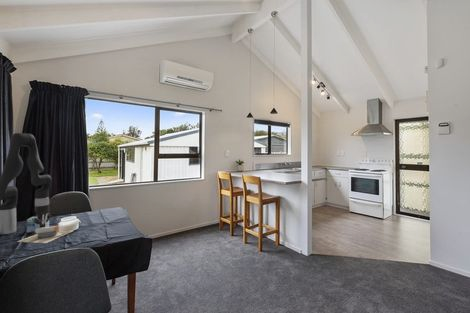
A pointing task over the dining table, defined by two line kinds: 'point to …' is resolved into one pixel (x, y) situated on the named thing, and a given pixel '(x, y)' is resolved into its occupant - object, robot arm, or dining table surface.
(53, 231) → the dial
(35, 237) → the panel
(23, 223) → the dining table surface
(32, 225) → the light bulb box
